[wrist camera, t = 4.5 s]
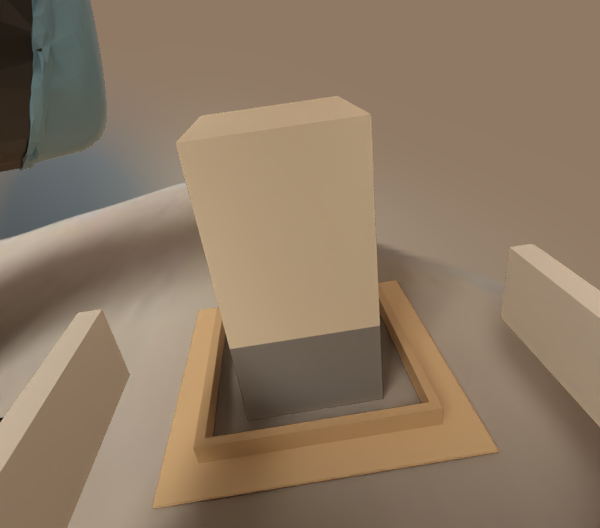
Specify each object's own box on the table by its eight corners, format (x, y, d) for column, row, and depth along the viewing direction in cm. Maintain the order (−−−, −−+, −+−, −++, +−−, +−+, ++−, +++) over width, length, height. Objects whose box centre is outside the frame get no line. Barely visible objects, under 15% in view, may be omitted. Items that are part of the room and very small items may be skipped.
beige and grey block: (248, 420, 18) (175, 143, 12) (250, 336, 23) (200, 115, 18) (383, 398, 18) (371, 114, 13) (355, 320, 23) (337, 95, 18)
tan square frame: (152, 508, 15) (144, 491, 14) (199, 311, 26) (195, 298, 26) (498, 452, 15) (501, 433, 15) (396, 281, 26) (395, 267, 26)
